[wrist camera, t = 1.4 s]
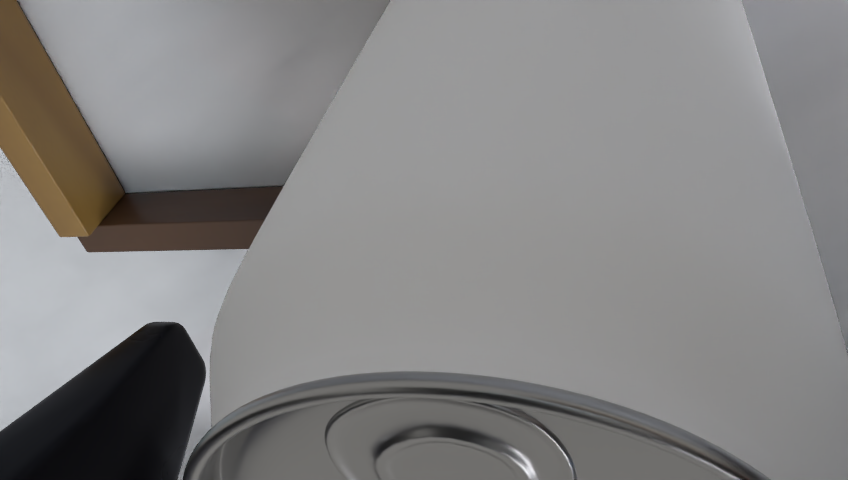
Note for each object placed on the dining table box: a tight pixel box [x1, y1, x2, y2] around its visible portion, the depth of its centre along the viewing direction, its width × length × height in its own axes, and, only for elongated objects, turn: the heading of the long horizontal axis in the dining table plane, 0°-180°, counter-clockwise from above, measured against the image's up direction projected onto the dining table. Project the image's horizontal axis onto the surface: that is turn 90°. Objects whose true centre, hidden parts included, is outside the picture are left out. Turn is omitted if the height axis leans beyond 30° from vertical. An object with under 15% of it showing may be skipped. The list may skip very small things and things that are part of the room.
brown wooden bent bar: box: [0, 0, 284, 252], centre depth 16 cm, size 17×10×2 cm, turn 100°
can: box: [183, 0, 848, 480], centre depth 11 cm, size 6×6×12 cm
